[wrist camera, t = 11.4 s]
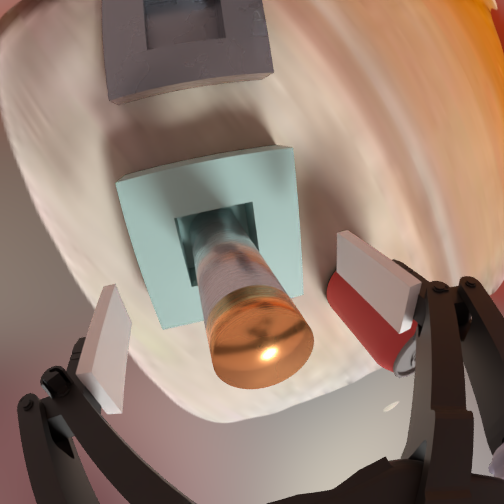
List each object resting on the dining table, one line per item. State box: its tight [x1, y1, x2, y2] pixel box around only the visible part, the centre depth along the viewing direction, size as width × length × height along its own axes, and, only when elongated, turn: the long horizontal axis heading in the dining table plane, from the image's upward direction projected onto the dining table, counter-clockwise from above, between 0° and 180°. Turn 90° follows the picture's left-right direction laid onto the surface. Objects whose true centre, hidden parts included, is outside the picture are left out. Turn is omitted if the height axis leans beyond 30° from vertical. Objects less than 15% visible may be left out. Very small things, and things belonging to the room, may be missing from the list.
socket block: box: [115, 145, 304, 329], centre depth 21 cm, size 12×12×4 cm
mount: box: [102, 0, 274, 105], centre depth 14 cm, size 11×11×3 cm
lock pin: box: [190, 208, 314, 389], centre depth 16 cm, size 4×4×14 cm
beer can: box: [326, 270, 418, 377], centre depth 24 cm, size 7×7×12 cm
